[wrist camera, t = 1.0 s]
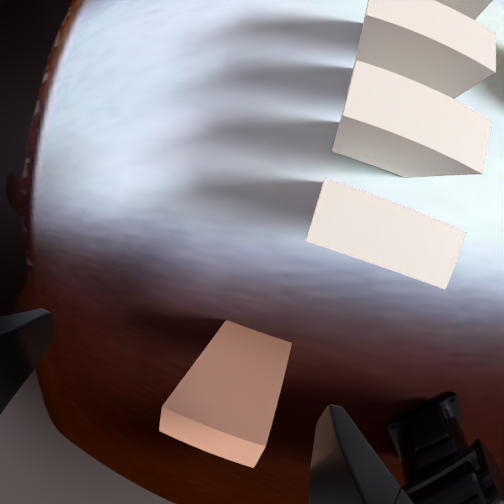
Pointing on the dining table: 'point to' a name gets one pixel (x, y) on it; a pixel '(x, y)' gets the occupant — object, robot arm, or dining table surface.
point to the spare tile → (229, 395)
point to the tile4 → (427, 44)
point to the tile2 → (385, 233)
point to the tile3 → (409, 127)
